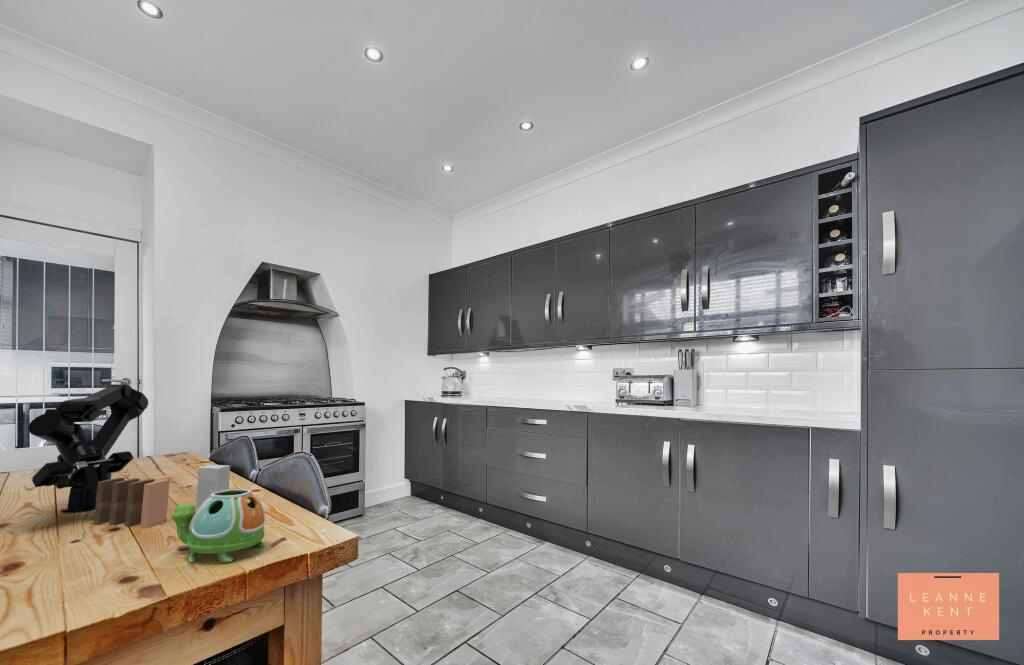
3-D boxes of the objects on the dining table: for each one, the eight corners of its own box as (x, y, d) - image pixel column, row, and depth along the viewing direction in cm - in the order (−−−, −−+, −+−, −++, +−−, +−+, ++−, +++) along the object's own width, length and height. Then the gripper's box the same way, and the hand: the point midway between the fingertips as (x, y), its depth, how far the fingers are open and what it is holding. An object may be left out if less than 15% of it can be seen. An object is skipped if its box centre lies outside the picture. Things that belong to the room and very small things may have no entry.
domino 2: (108, 525, 104) (113, 482, 106) (130, 519, 109) (134, 478, 110) (114, 525, 104) (118, 482, 105) (135, 519, 109) (139, 478, 110)
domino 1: (93, 524, 105) (98, 481, 106) (115, 518, 110) (119, 477, 111) (99, 524, 105) (103, 482, 106) (120, 518, 110) (124, 477, 111)
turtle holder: (196, 540, 95) (201, 484, 96) (276, 542, 94) (280, 485, 95) (145, 564, 82) (151, 499, 84) (237, 566, 81) (241, 501, 83)
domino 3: (124, 526, 104) (128, 483, 105) (145, 520, 108) (149, 478, 110) (130, 526, 103) (134, 483, 104) (150, 520, 108) (154, 479, 109)
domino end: (140, 527, 103) (144, 484, 104) (160, 521, 108) (164, 479, 109) (145, 528, 103) (149, 484, 104) (166, 521, 107) (169, 479, 109)
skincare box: (228, 510, 116) (231, 465, 118) (215, 515, 112) (219, 468, 113) (207, 510, 117) (210, 464, 118) (194, 514, 113) (197, 467, 114)
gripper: (94, 459, 120) (120, 505, 117) (4, 473, 102) (32, 527, 99) (121, 433, 120) (148, 478, 116) (35, 442, 101) (65, 496, 98)
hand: (101, 494), depth 107 cm, fingers closed
